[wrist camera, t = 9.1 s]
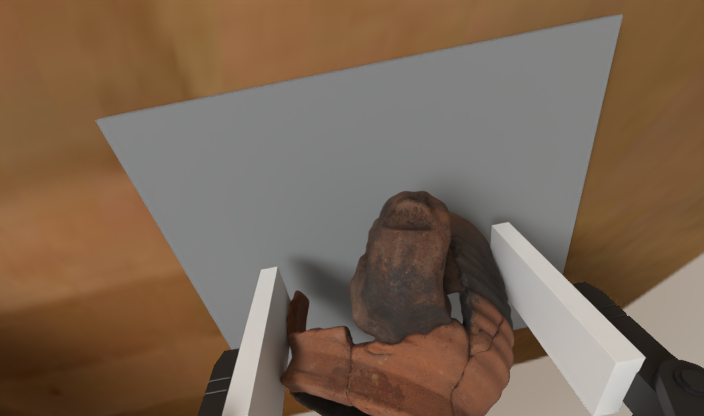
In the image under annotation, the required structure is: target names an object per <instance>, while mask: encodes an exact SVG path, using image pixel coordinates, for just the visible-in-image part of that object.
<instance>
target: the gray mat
mask: <svg viewBox="0 0 704 416" xmlns="http://www.w3.org/2000/svg"><path fill="white" fill-rule="evenodd" d="M622 16H623V15H612V16H606V17H601V18H596V19H591V20H586V21H581V22H576V23H571V24H566V25H561V26H556V27H551V28H546V29H541V30H536V31H531V32H526V33H521V34H516V35H511V36H506V37H501V38H496V39H491V40H486V41H481V42H476V43H471V44H466V45H461V46H456V47H451V48H446V49H441V50H436V51H431V52H426V53H421V54H416V55H411V56H406V57H401V58H396V59H391V60H386V61H381V62H377V63H372V64H367V65H362V66H357V67H352V68H347V69H342V70H337V71H332V72H327V73H322V74H317V75H312V76H307V77H302V78H297V79H292V80H287V81H282V82H277V83H272V84H267V85H262V86H257V87H252V88H247V89H242V90H237V91H232V92H227V93H222V94H217V95H212V96H207V97H202V98H197V99H192V100H187V101H182V102H177V103H172V104H167V105H162V106H157V107H152V108H147V109H142V110H138V111H133V112H128V113H123V114H118V115H113V116H108V117H104V118H101V119H98V120H95V121H96V122H97V124H98V126H99V128H100V129H101V131H102V133H103V134H104V136H105V138H106V139H107V141H108V143H109V144H110V146H111V148H112V149H113V151H114V153H115V154H116V156H117V158H118V159H119V161H120V163H121V165H122V166H123V168H124V170H125V171H126V173H127V175H128V176H129V178H130V180H131V181H132V183H133V185H134V186H135V188H136V190H137V191H138V193H139V195H140V196H141V198H142V200H143V202H144V203H145V205H146V207H147V208H148V210H149V212H150V213H151V215H152V217H153V218H154V220H155V222H156V223H157V225H158V227H159V228H160V230H161V232H162V233H163V235H164V237H165V239H166V240H167V242H168V244H169V245H170V247H171V249H172V250H173V252H174V254H175V255H176V257H177V259H178V260H179V262H180V264H181V265H182V267H183V269H184V271H185V272H186V274H187V276H188V277H189V279H190V281H191V282H192V284H193V286H194V287H195V289H196V291H197V292H198V294H199V296H200V297H201V299H202V301H203V302H204V304H205V306H206V308H207V309H208V311H209V313H210V314H211V316H212V318H213V319H214V321H215V323H216V324H217V326H218V328H219V329H220V331H221V333H222V334H223V336H224V338H225V339H226V341H227V343H228V345H229V346H230V348H231V350H233V349H238V348H240V346H241V343H242V339H243V335H244V331H245V328H246V324H247V320H248V317H249V313H250V309H251V305H252V302H253V298H254V294H255V291H256V287H257V283H258V279H259V276H260V272H261V270H262V269H267V268H272V267H278V269H279V271H280V274H281V277H282V279H283V282H284V284H285V287H286V289H287V292H288V295H289V297H290V300H292V299H293V297H294V293H295V291H296V290H299V291H301V292H302V293H303V294H304V295H305V296H306V297H307V298H308V299H309V309H308V315H307V322H306V331H307V330H309V329H313V328H323V329H325V328H331V327H335V326H347V327H348V328H349V330H350V333H351V336H352V338H353V339H352V341H353V343H354V344H359V343H363V342H369V341H373V340H374V339H375V338H374V337H373V336H371V335H368V334H365V333H364V332H363V331H361V330H360V329H359V328H358V327H357V326H356V324H355V321H354V319H353V317H352V303H351V295H350V289H349V287H350V282H351V279H352V278H353V276H354V275H355V271H356V268H357V264H358V261H359V259H360V257H361V256H362V255H364V254H365V251H366V244H367V242H368V233H369V230H370V228H371V227H372V226H373V222H374V221H375V220H376V219H377V218H379V215H380V212H381V210H382V207H383V205H384V204H385V202H386V201H387V200H388V199H389V198H391V197H392V196H394V195H396V194H398V193H400V192H402V191H411V192H416V191H426V192H428V193H429V194H431V195H432V196H434V197H435V198H437V199H439V200H441V201H442V202H444V203H445V204H446V206H447V208H448V210H449V212H452V213H454V214H456V215H458V216H459V217H461V218H464V219H466V220H468V221H469V222H471V223H472V224H473V225H474V226H475V227H476V228H477V229H478V230H479V231H480V232H481V233H482V234H483V236H484V237H485V238H486V239H487V241H488V243H489V245H490V244H491V229H492V225H496V224H501V223H506V222H509V223H510V224H511V225H512V226H513V227H514V228H515V229H516V230H517V231H518V232H519V233H520V234H521V235H522V236H523V237H524V238H525V239H526V240H527V241H528V242H529V243H530V244H531V245H532V246H533V247H534V248H535V249H536V250H537V251H538V252H539V253H540V254H541V255H542V256H544V257H545V258H546V259H547V260H548V261H549V262H550V263H551V264H552V265H553V266H554V267H555V268H556V269H557V270H558V271H559V272H560V273H561V274H562V275H563V272H564V268H565V263H566V259H567V255H568V250H569V246H570V242H571V237H572V233H573V229H574V224H575V220H576V216H577V211H578V207H579V203H580V198H581V194H582V190H583V185H584V181H585V177H586V172H587V168H588V164H589V159H590V155H591V151H592V146H593V142H594V138H595V133H596V129H597V125H598V120H599V116H600V112H601V107H602V103H603V99H604V94H605V90H606V86H607V81H608V77H609V73H610V68H611V64H612V60H613V55H614V51H615V47H616V42H617V38H618V34H619V29H620V25H621V21H622ZM448 297H449V300H450V302H451V306H452V312H451V318H455V319H457V320H459V321H460V322H461V323H463V316H462V313H461V305H460V300H459V293H458V292H457V293H452V294H449V295H448ZM508 304H509V306H510V307H511V318H512V321H513V330H515V329H521V328H526V327H528V326H527V324H526V323H525V322H524V320H523V319H522V317H521V316H520V315H519V313H518V312H517V310H516V309H515V307H514V306H513V305H512V303H511V302H510V300H509V299H508ZM291 359H292V354H291V349H290V348H289V357H288V365H289V363H290V361H291Z"/></svg>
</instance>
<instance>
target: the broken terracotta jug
mask: <svg viewBox="0 0 704 416" xmlns="http://www.w3.org/2000/svg"><path fill="white" fill-rule="evenodd" d="M349 289H350V295H351V303H352V317H353V319H354V321H355V324H356V326H357V327H358V328H359V329H360V330H361V331H363V332H364V333H365V334H368V335H371V336H373V337H374V338H375V339H374V340H373V341H369V342H363V343H359V344H354V343H353V341H352V339H353V338H352V336H351V333H350V330H349V328H348V327H347V326H335V327H331V328H325V329H323V328H313V329H309V330H307V331H306V322H307V315H308V309H309V299H308V298H307V297H306V296H305V295H304V294H303V293H302V292H301V291H299V290H296V291H295V293H294V297H293V299H292V300H291V302H290V304H289V306H290V310H289V314H288V316H287V336H288V338H287V339H288V342H289V345H290V349H291V354H292V359H291V361H290V363H289V365H288V367H287V369H286V371H285V372H284V373H283V374H282V376H281V383H282V384H283V385H284V386H286V387H287V388H288V389H289V390H290V394H291V395H292V396H293V397H294V398H295V399H296V400H297V401H298V402H299V403H301V404H302V405H304V406H306V407H307V408H309V409H311V410H314V411H316V412H317V413H319V414H320V415H322V416H485V414H487V412H488V411H489V410H490V408H491V407H492V406H493V405H494V404H495V403H496V402H497V401H498V400H499V398H500V397H501V394H502V391H503V389H504V388H505V387H506V385H507V384H508V382H509V379H510V369H511V367H512V365H513V359H514V356H513V352H512V348H513V345H514V335H513V321H512V318H511V307H510V306H509V304H508V297H507V294H506V292H505V284H504V282H503V279H502V277H501V276H500V273H499V270H498V268H497V266H496V264H495V261H494V259H493V256H492V251H491V248H490V245H489V243H488V241H487V239H486V238H485V237H484V236H483V234H482V233H481V232H480V231H479V230H478V229H477V228H476V227H475V226H474V225H473V224H472V223H471V222H469V221H468V220H466V219H464V218H461V217H459V216H458V215H456V214H454V213H452V212H449V210H448V208H447V206H446V204H445V203H444V202H442V201H441V200H439V199H437V198H435V197H434V196H432V195H431V194H429V193H428V192H426V191H416V192H411V191H402V192H400V193H398V194H396V195H394V196H392V197H391V198H389V199H388V200H387V201H386V202H385V204H384V205H383V207H382V210H381V212H380V215H379V218H377V219H376V220H375V221H374V222H373V226H372V227H371V228H370V230H369V233H368V242H367V244H366V251H365V254H364V255H362V256H361V257H360V259H359V261H358V264H357V268H356V271H355V275H354V276H353V278H352V279H351V282H350V287H349ZM457 292H458V293H459V300H460V305H461V313H462V316H463V323H461V322H460V321H459V320H457V319H455V318H451V312H452V306H451V302H450V300H449V297H448V295H449V294H452V293H457Z"/></svg>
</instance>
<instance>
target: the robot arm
mask: <svg viewBox="0 0 704 416" xmlns="http://www.w3.org/2000/svg"><path fill="white" fill-rule="evenodd" d="M490 248H491V251H492V256H493V259H494V261H495V264H496V266H497V268H498V270H499V273H500V276H501V277H502V279H503V282H504V284H505V292H506V294H507V297H508V299H509V300H510V302H511V303H512V305H513V306H514V307H515V309H516V310H517V312H518V313H519V315H520V316H521V317H522V319H523V320H524V322H525V323H526V324H527V326H528V327H529V329H530V330H531V331H532V333H533V334H534V336H535V337H536V338H537V340H538V341H539V343H540V344H541V345H542V347H543V348H544V350H545V351H546V352H547V354H548V355H549V357H550V358H551V359H552V361H553V362H554V364H555V365H556V366H557V368H558V369H559V371H560V372H561V373H562V375H563V376H564V378H565V379H566V381H567V382H568V383H569V385H570V386H571V387H572V389H573V390H574V392H575V393H576V395H577V396H578V397H579V399H580V400H581V402H582V403H583V404H584V406H585V407H586V408H587V410H588V411H589V413H590V414H591V416H603V415H608V414H614V413H618V411H619V409H620V408H621V406H622V403H623V402H624V403H625V405H626V406H627V407H628V408H629V409H630V411H631V412H632V413H633V415H632V416H704V368H702V367H700V366H698V365H696V364H693V363H690V362H687V361H684V360H678V359H677V358H676V357H674V356H673V355H672V354H671V353H669V352H668V351H667V350H666V349H665V348H664V347H663V346H662V345H661V344H660V343H659V342H657V341H656V340H655V339H654V338H653V337H652V336H651V335H650V334H649V333H647V332H646V331H645V330H644V329H643V328H642V327H641V326H640V325H639V324H638V323H636V322H635V321H634V320H633V319H632V318H631V317H630V316H627V315H626V313H625V312H624V311H623V310H622V309H621V308H620V307H619V306H616V305H615V303H614V302H613V301H612V300H611V299H610V298H609V297H608V296H607V295H605V294H604V293H603V292H602V291H600V290H599V289H597V288H595V287H593V286H591V285H589V284H588V283H586V282H583V283H578V284H571V283H570V282H569V281H568V280H567V279H566V278H565V277H564V276H563V275H562V274H561V273H560V272H559V271H558V270H557V269H556V268H555V267H554V266H553V265H552V264H551V263H550V262H549V261H548V260H547V259H546V258H545V257H544V256H542V255H541V254H540V253H539V252H538V251H537V250H536V249H535V248H534V247H533V246H532V245H531V244H530V243H529V242H528V241H527V240H526V239H525V238H524V237H523V236H522V235H521V234H520V233H519V232H518V231H517V230H516V229H515V228H514V227H513V226H512V225H511V224H510V223H509V222H506V223H501V224H496V225H492V229H491V244H490ZM290 302H291V300H290V297H289V295H288V292H287V289H286V287H285V284H284V282H283V279H282V277H281V274H280V271H279V269H278V267H272V268H267V269H262V270H261V272H260V276H259V279H258V283H257V287H256V291H255V294H254V298H253V302H252V305H251V309H250V313H249V317H248V320H247V324H246V328H245V331H244V335H243V339H242V343H241V346H240V348H238V349H233V350H227V351H224V352H223V354H222V355H221V357H220V358H219V359H218V361H217V362H216V364H215V365H214V368H213V371H212V374H211V377H210V383H208V386H207V389H206V392H205V393H206V395H205V396H204V398H203V401H202V404H201V407H200V410H199V413H198V416H282V413H283V404H284V394H285V386H284V385H283V384H282V383H281V376H282V374H283V373H284V372H285V371H286V369H287V367H288V357H289V348H290V345H289V342H288V339H287V338H288V336H287V316H288V314H289V310H290V306H289V304H290Z"/></svg>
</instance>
